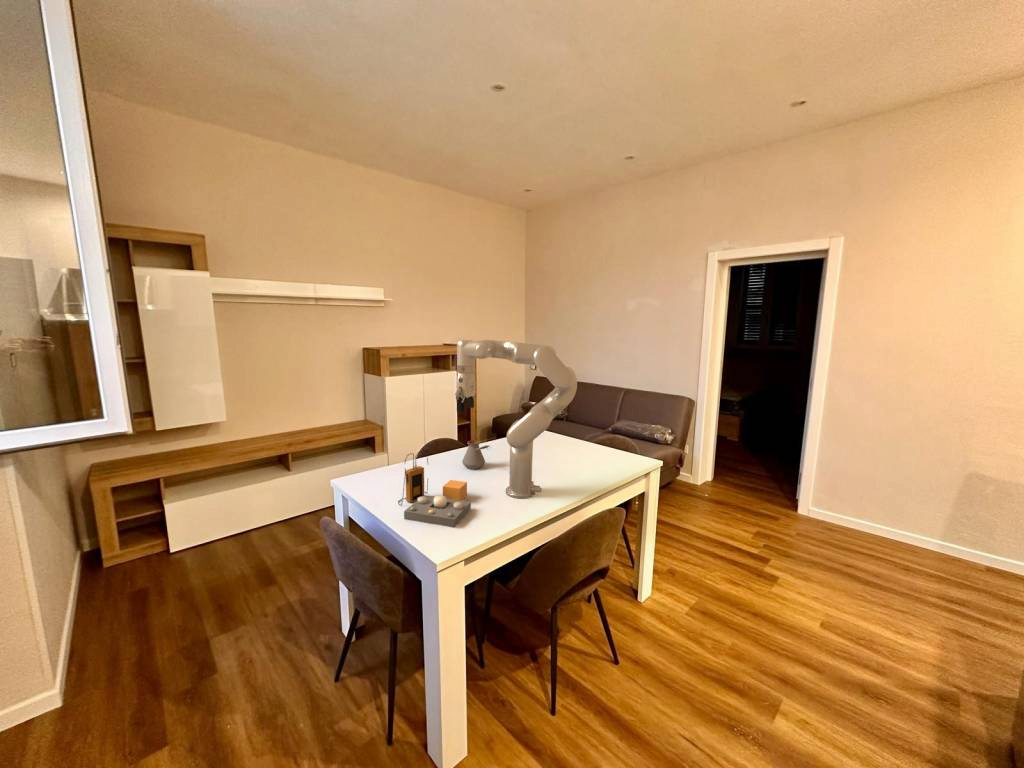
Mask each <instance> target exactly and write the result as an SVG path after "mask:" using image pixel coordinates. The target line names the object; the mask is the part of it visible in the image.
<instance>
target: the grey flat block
mask: <svg viewBox="0 0 1024 768" xmlns="http://www.w3.org/2000/svg"><path fill="white" fill-rule="evenodd" d="M434 497H435V496H432V495H425V494H424V496H422V497H418V500H416V501H414V503H412V504H411V505H410V506H409V507H407V508H406V509H405V510H404V511H403V519H404V520H407V521H408V520H409V521H414V522H420V523H426V524H432V525H438V526H443V527H451V528H455V527H456V526H457V525H458V524H459V523H460V522H461V521H462V520H463V519H464V517H465V516H466V515H467V514H468V513H469V512H470V511H471V510H472V505H471V504H472V502H471V501H466V500H462V501H461V500H454V499H447V506H446V507H445V508H441V509H439V508H434Z"/></svg>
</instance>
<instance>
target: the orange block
mask: <svg viewBox="0 0 1024 768" xmlns="http://www.w3.org/2000/svg"><path fill="white" fill-rule="evenodd" d="M442 496H445V497H446V498H447V499H454V500H461V501H464V499H465V498H466V497H467V496H468V482H467V481H463V480H456V479H455V480H454V479H450V480H448V481H447V482H446V483H445V484H444V485H442Z"/></svg>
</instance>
